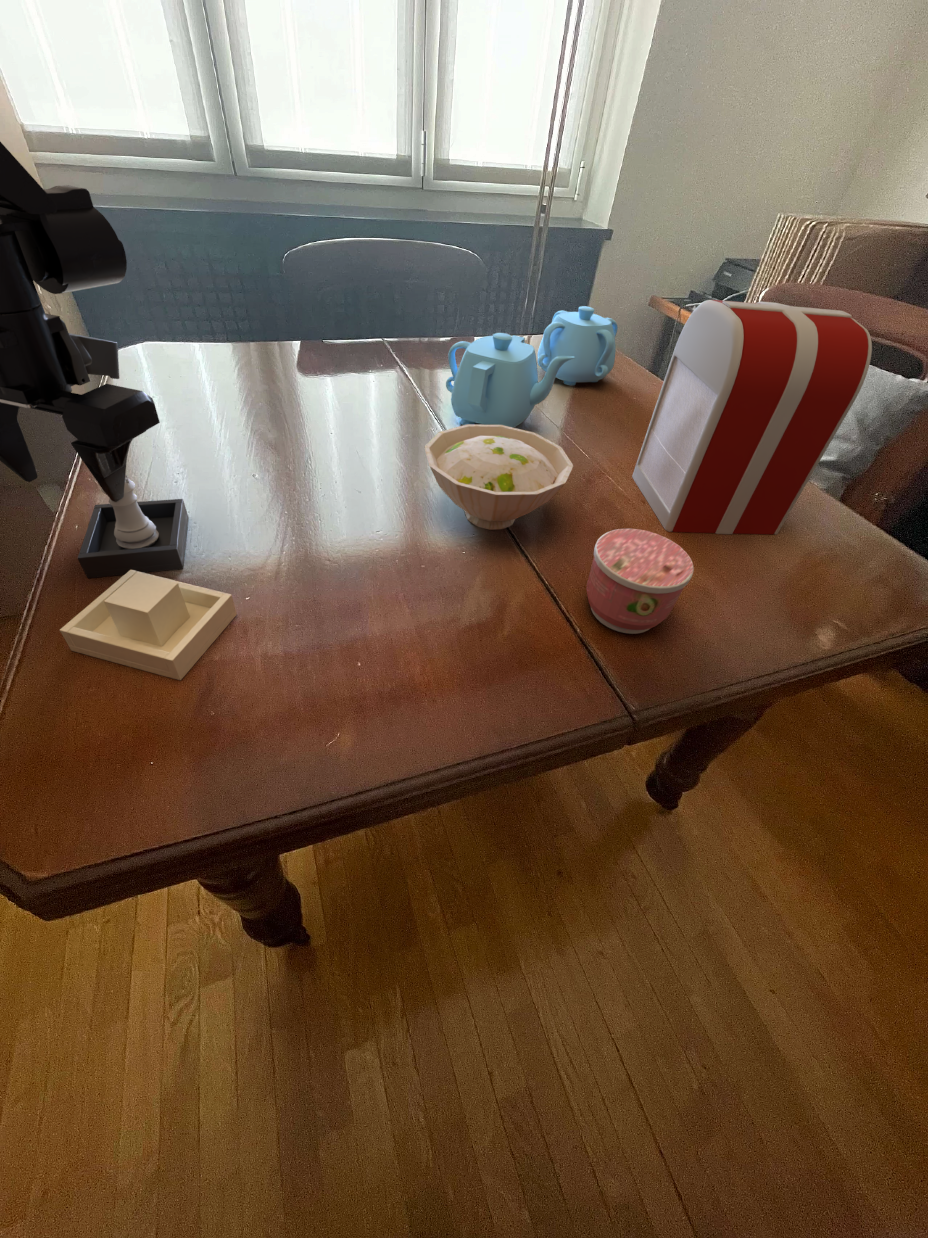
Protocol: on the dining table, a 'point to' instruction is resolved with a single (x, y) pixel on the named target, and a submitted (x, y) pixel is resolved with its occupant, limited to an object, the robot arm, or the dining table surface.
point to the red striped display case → (748, 413)
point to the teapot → (498, 380)
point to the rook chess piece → (132, 521)
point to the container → (636, 579)
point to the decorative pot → (579, 345)
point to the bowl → (496, 471)
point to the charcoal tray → (165, 554)
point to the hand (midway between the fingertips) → (74, 489)
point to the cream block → (147, 609)
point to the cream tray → (173, 659)
